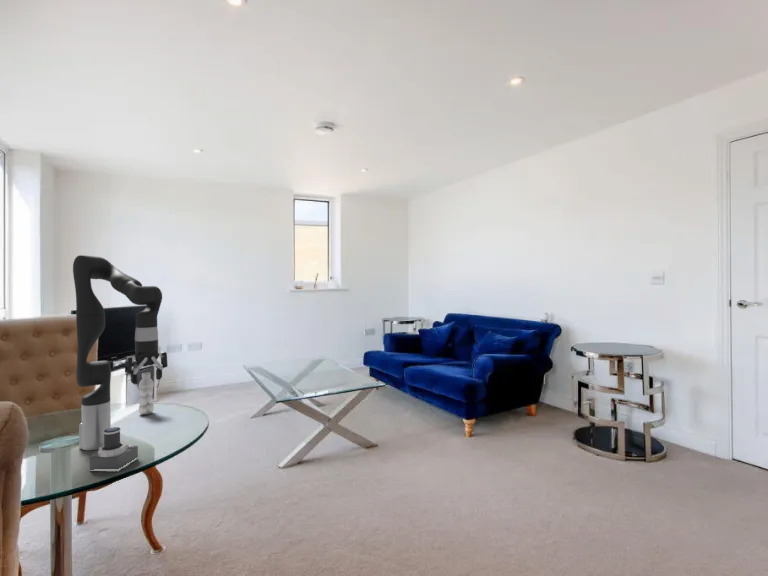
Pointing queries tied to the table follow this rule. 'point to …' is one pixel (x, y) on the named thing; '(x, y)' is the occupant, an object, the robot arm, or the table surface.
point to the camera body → (113, 457)
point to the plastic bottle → (146, 394)
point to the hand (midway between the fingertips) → (147, 381)
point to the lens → (112, 438)
